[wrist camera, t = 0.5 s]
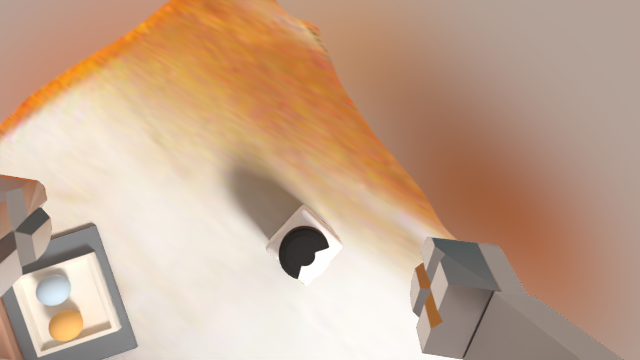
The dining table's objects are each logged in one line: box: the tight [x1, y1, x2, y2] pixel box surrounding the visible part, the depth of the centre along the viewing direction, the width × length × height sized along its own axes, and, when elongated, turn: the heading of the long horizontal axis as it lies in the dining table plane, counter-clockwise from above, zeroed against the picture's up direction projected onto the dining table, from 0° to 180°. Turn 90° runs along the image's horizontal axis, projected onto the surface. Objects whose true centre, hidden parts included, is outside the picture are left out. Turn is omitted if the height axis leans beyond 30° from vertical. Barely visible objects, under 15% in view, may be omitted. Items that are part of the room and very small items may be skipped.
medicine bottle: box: [266, 205, 343, 285], centre depth 55 cm, size 7×7×12 cm
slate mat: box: [2, 225, 138, 360], centre depth 59 cm, size 18×27×1 cm, turn 108°
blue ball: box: [36, 275, 71, 306], centre depth 57 cm, size 4×4×4 cm
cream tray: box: [12, 251, 122, 357], centre depth 58 cm, size 11×11×1 cm
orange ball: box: [48, 310, 83, 341], centre depth 57 cm, size 4×4×4 cm
